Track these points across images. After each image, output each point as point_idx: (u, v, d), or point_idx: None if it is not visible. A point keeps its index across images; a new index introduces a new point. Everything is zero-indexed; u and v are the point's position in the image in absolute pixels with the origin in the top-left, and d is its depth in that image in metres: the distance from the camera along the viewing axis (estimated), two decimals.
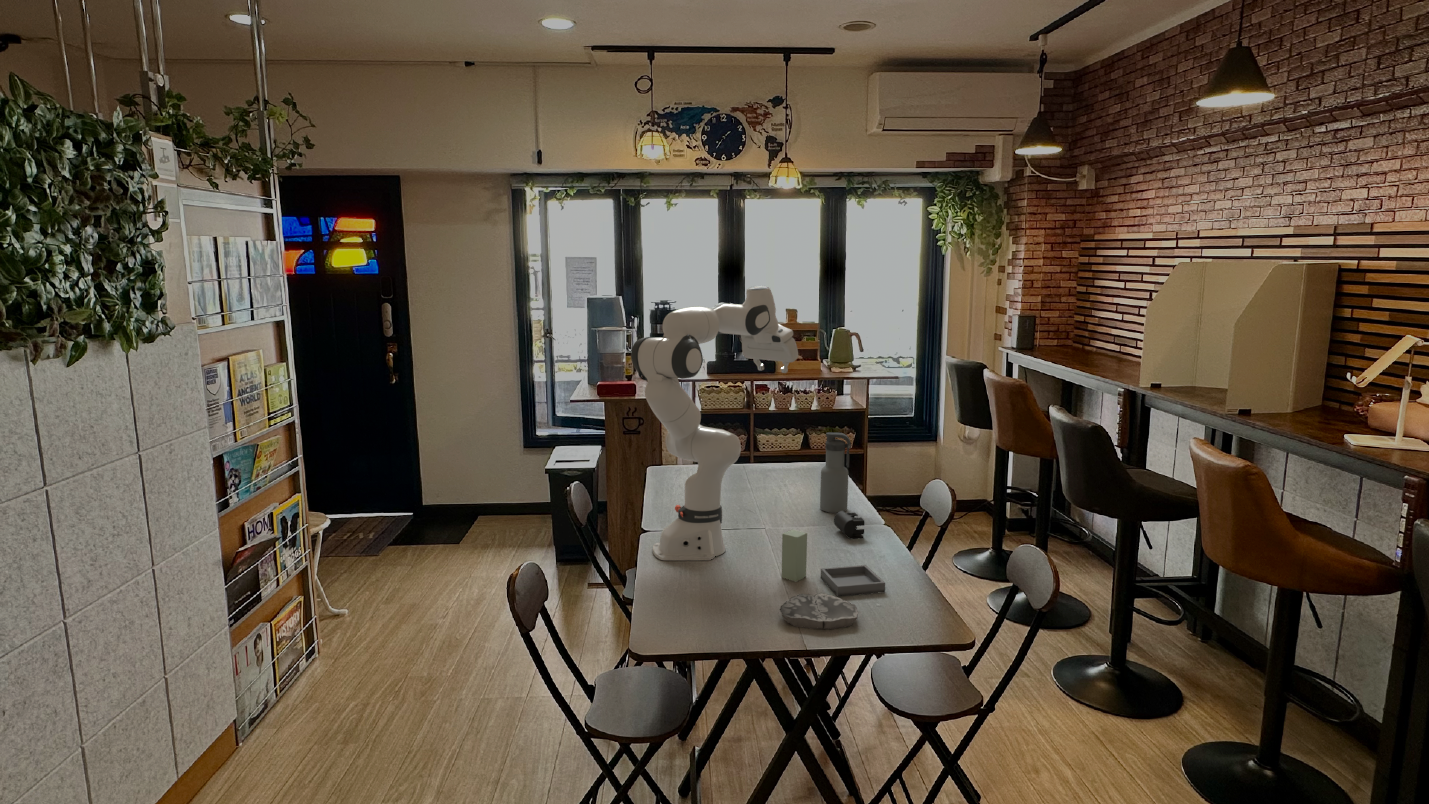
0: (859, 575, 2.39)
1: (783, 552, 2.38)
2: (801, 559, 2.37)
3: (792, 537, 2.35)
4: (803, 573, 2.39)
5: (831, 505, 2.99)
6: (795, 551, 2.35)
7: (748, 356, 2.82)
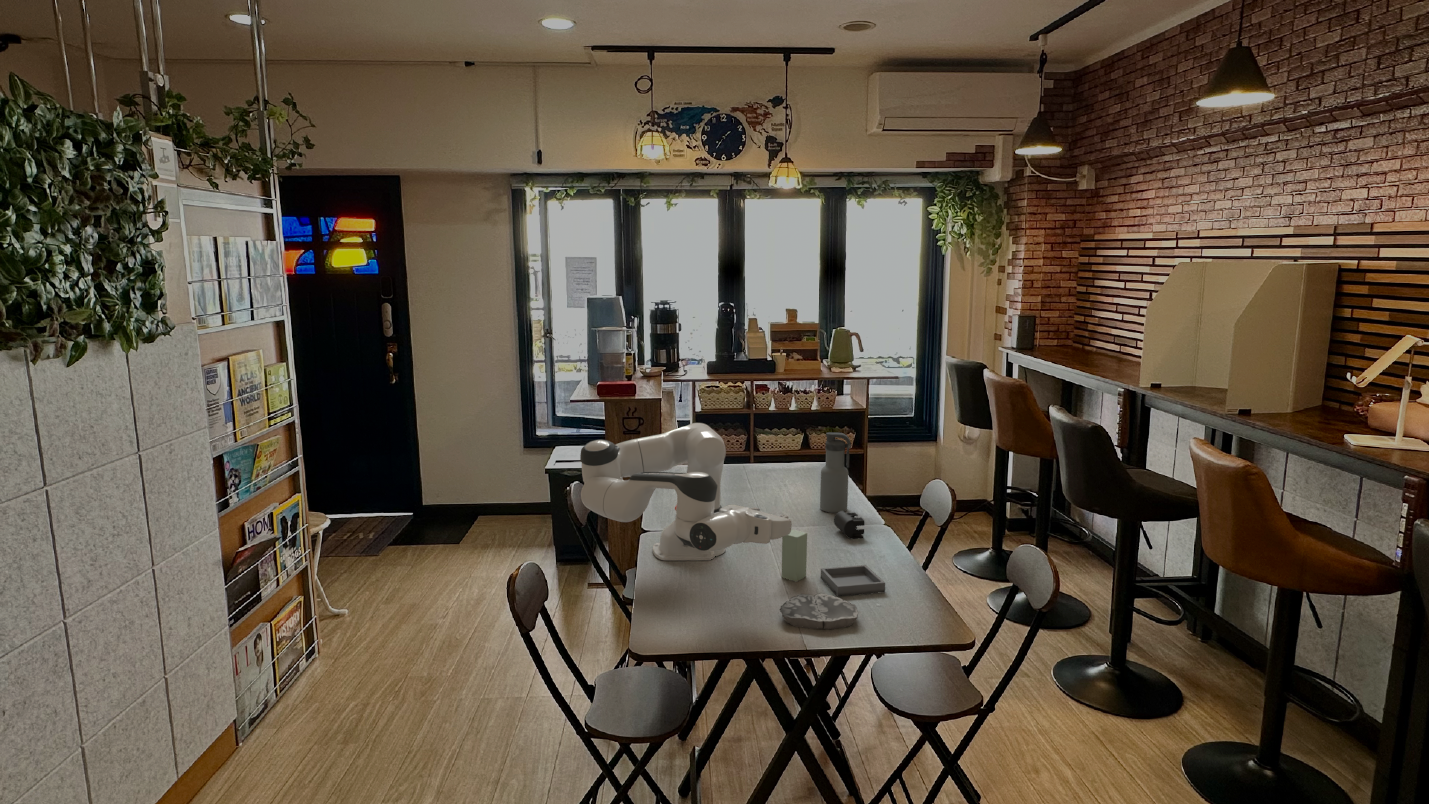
0: (859, 575, 2.39)
1: (783, 552, 2.38)
2: (801, 559, 2.37)
3: (792, 537, 2.35)
4: (803, 573, 2.39)
5: (831, 505, 2.99)
6: (795, 551, 2.35)
7: None
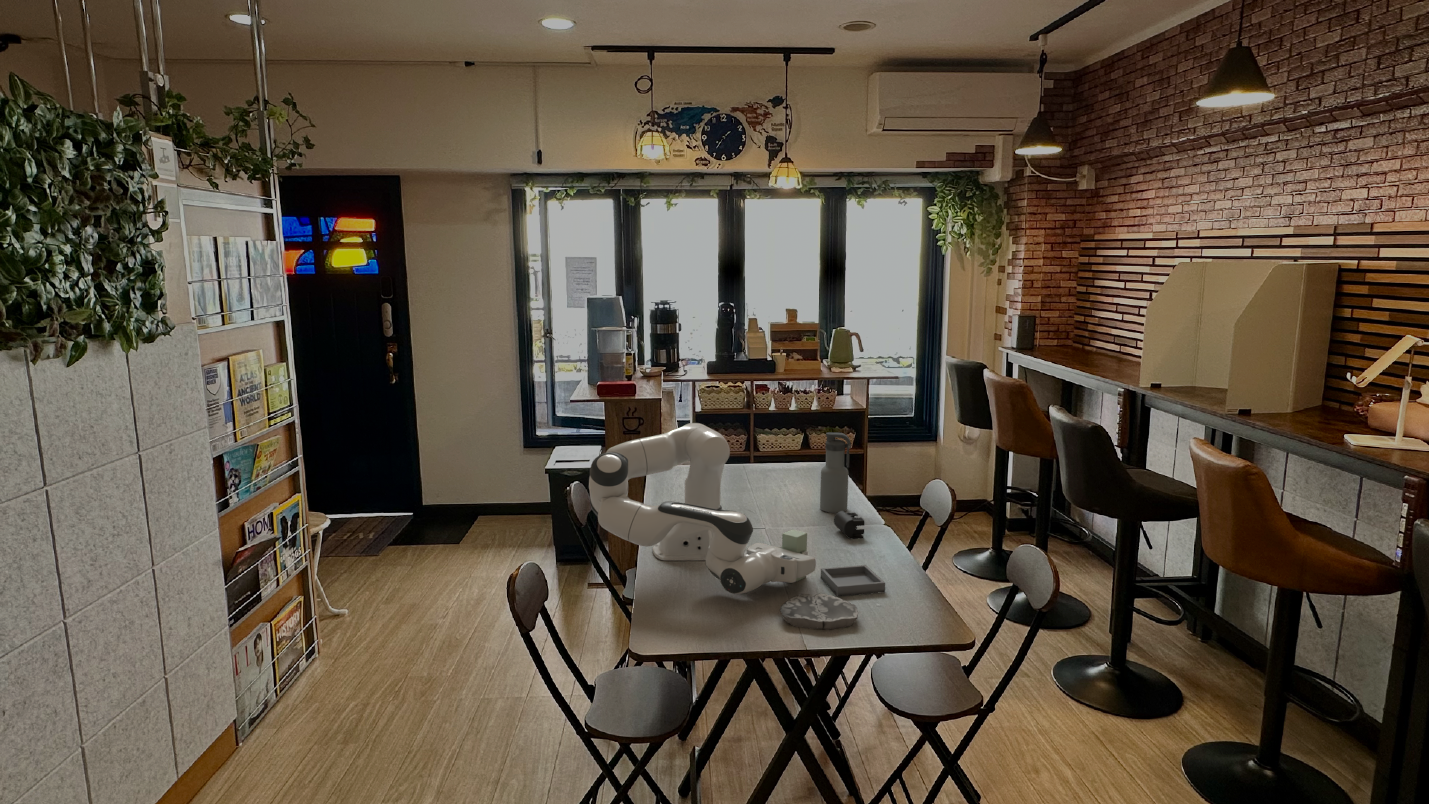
0: (859, 575, 2.39)
1: None
2: None
3: (792, 537, 2.35)
4: None
5: (831, 505, 2.99)
6: (795, 551, 2.35)
7: None
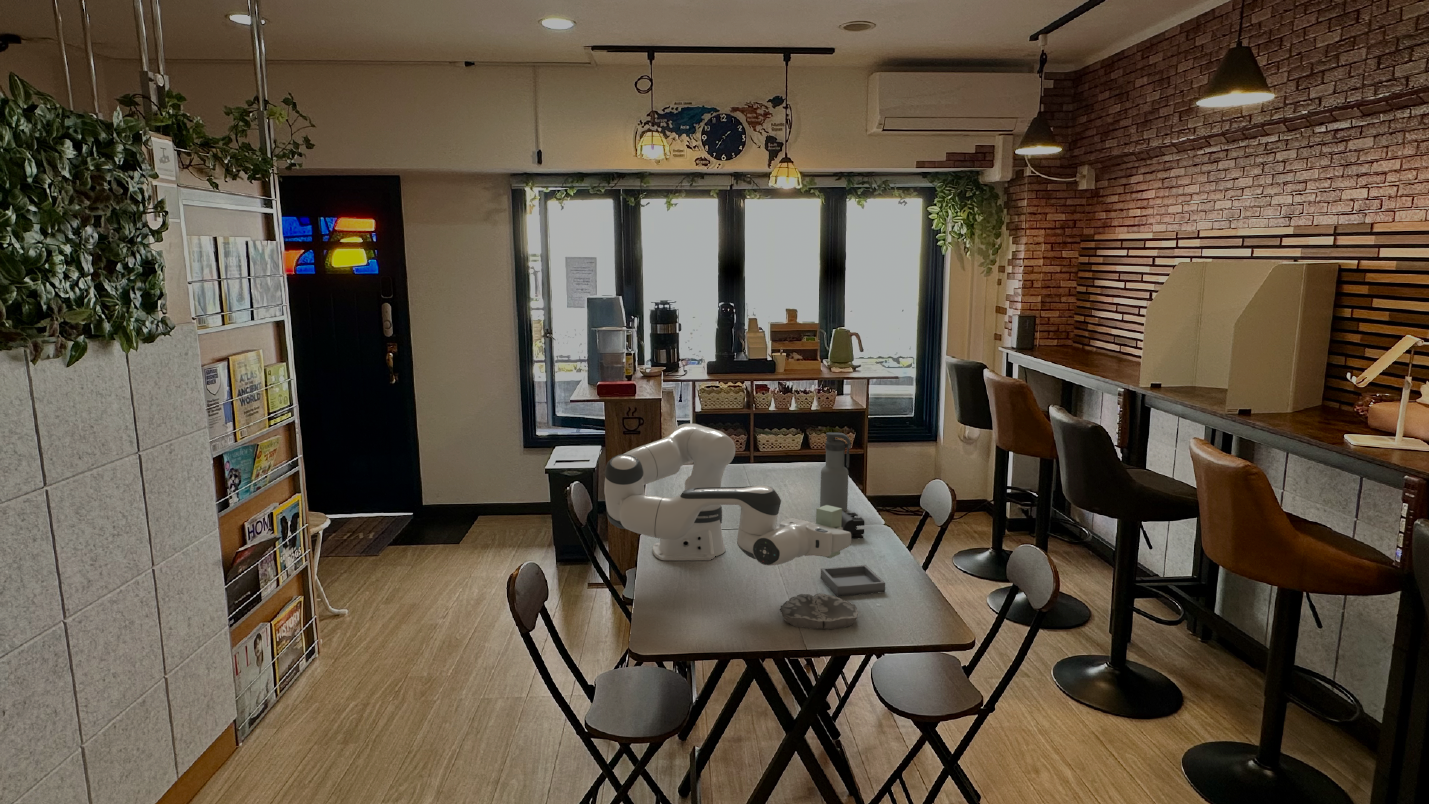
0: (859, 575, 2.39)
1: None
2: None
3: (826, 512, 2.28)
4: None
5: (831, 505, 2.99)
6: (829, 526, 2.28)
7: None
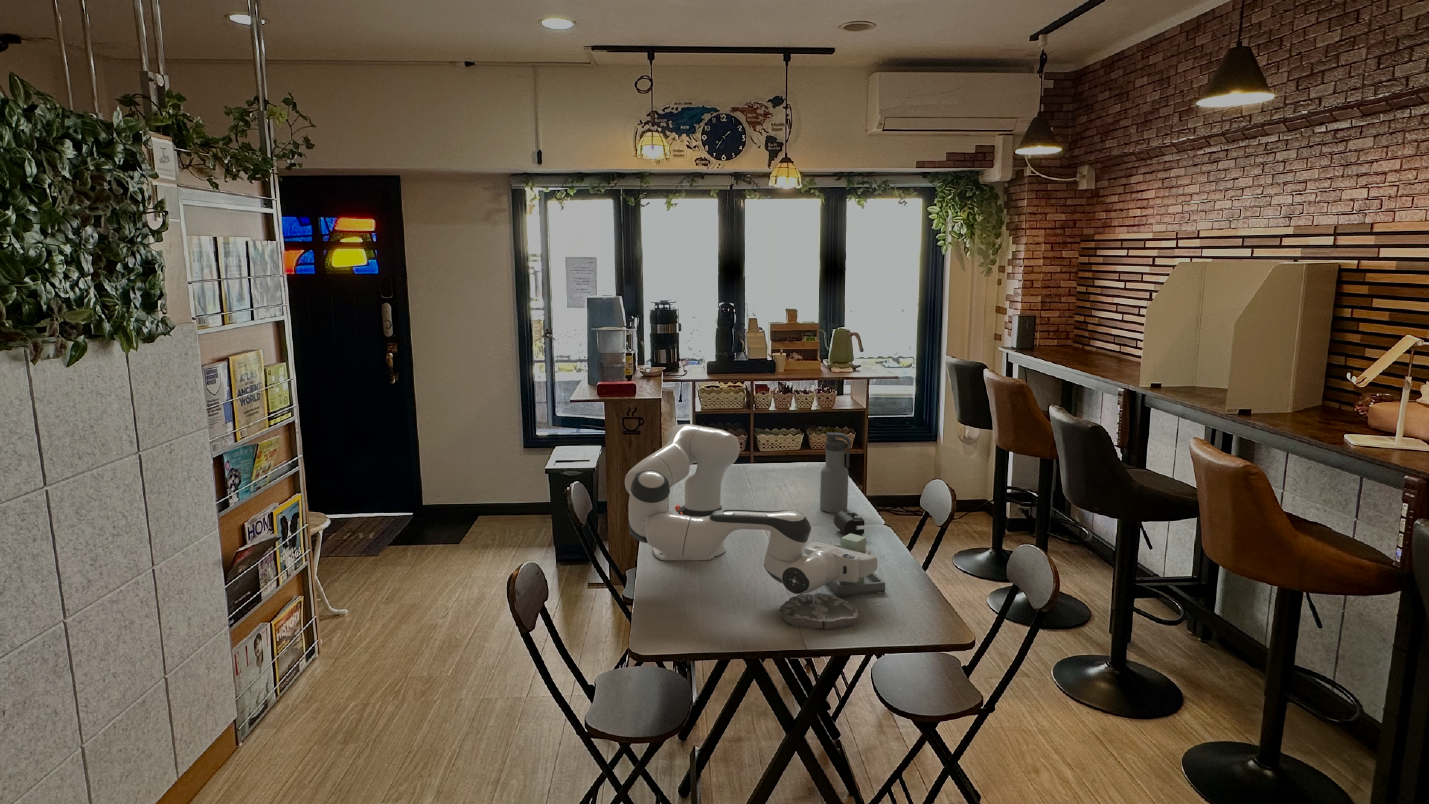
0: None
1: None
2: None
3: (851, 541, 2.29)
4: (861, 579, 2.33)
5: (831, 505, 2.99)
6: None
7: None
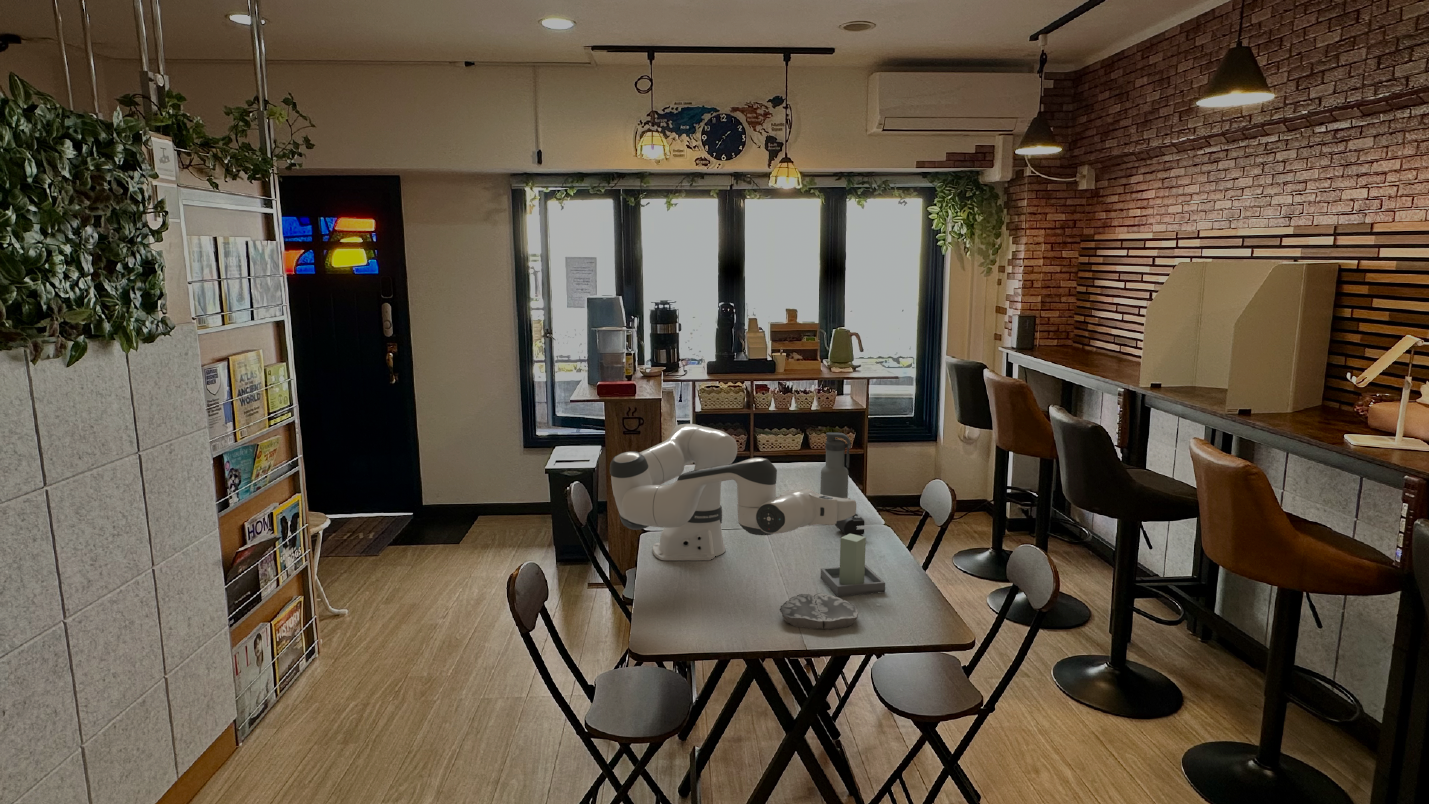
0: None
1: (841, 557, 2.32)
2: (859, 564, 2.31)
3: (851, 541, 2.29)
4: (861, 579, 2.33)
5: None
6: (854, 555, 2.29)
7: None
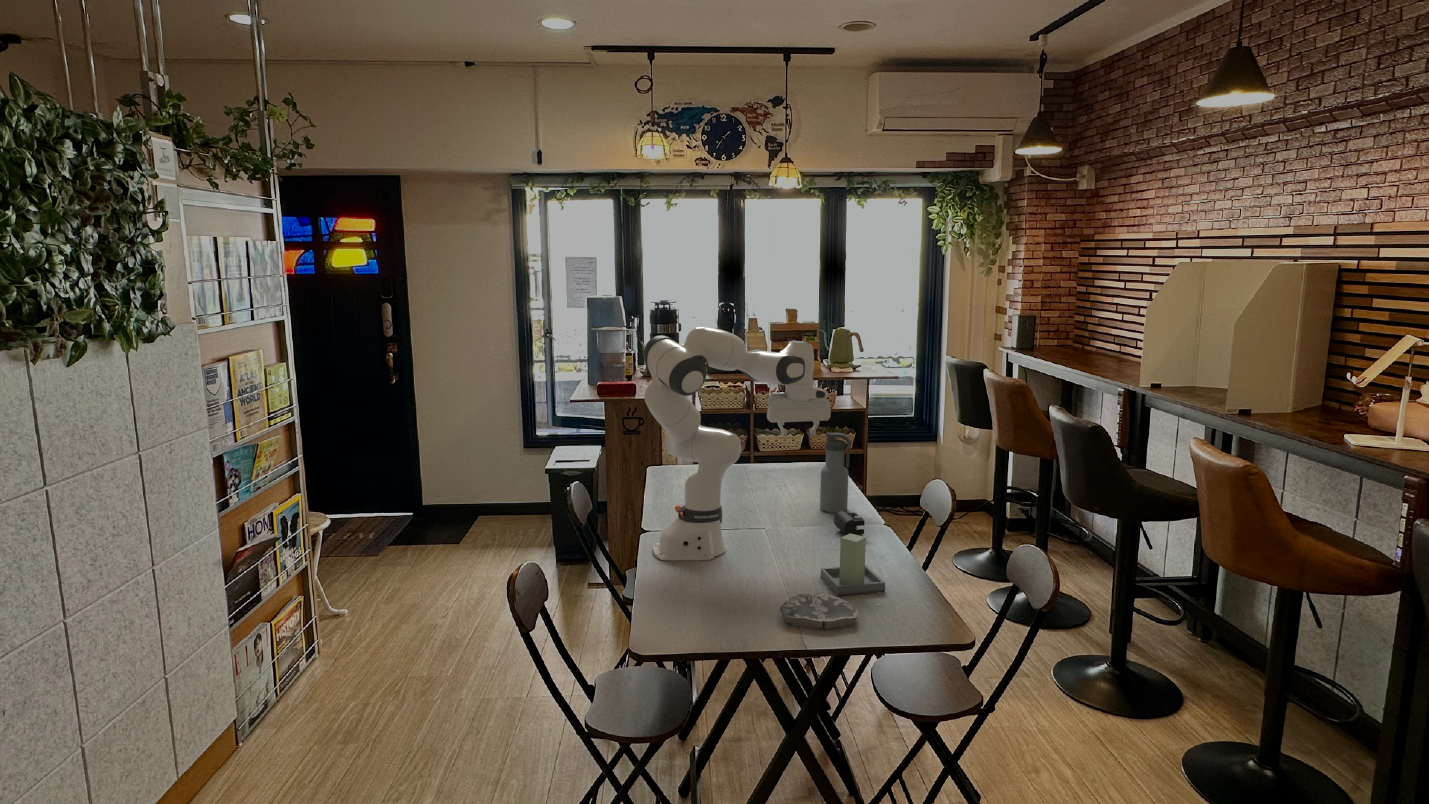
0: None
1: (841, 557, 2.32)
2: (859, 564, 2.31)
3: (851, 541, 2.29)
4: (861, 579, 2.33)
5: (831, 505, 2.99)
6: (854, 555, 2.29)
7: (777, 420, 2.63)
